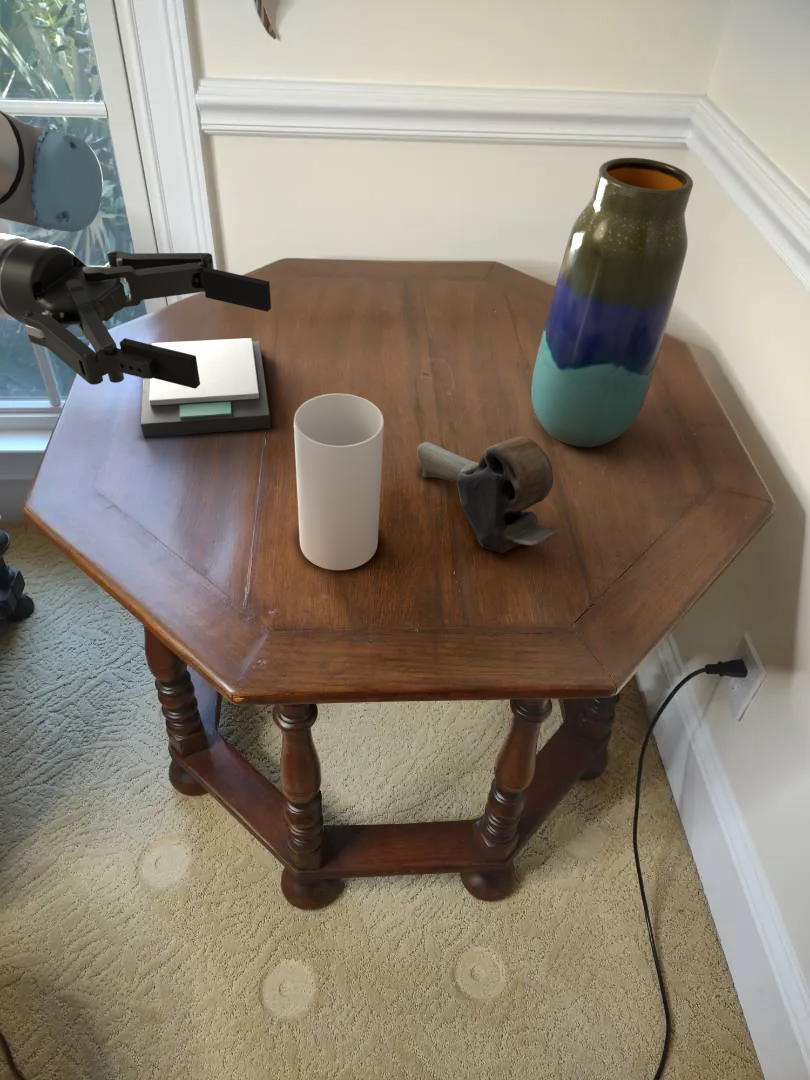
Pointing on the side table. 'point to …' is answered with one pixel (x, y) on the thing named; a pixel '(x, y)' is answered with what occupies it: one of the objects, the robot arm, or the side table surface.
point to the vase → (612, 302)
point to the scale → (209, 391)
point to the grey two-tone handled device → (497, 489)
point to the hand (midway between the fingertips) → (235, 332)
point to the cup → (338, 479)
